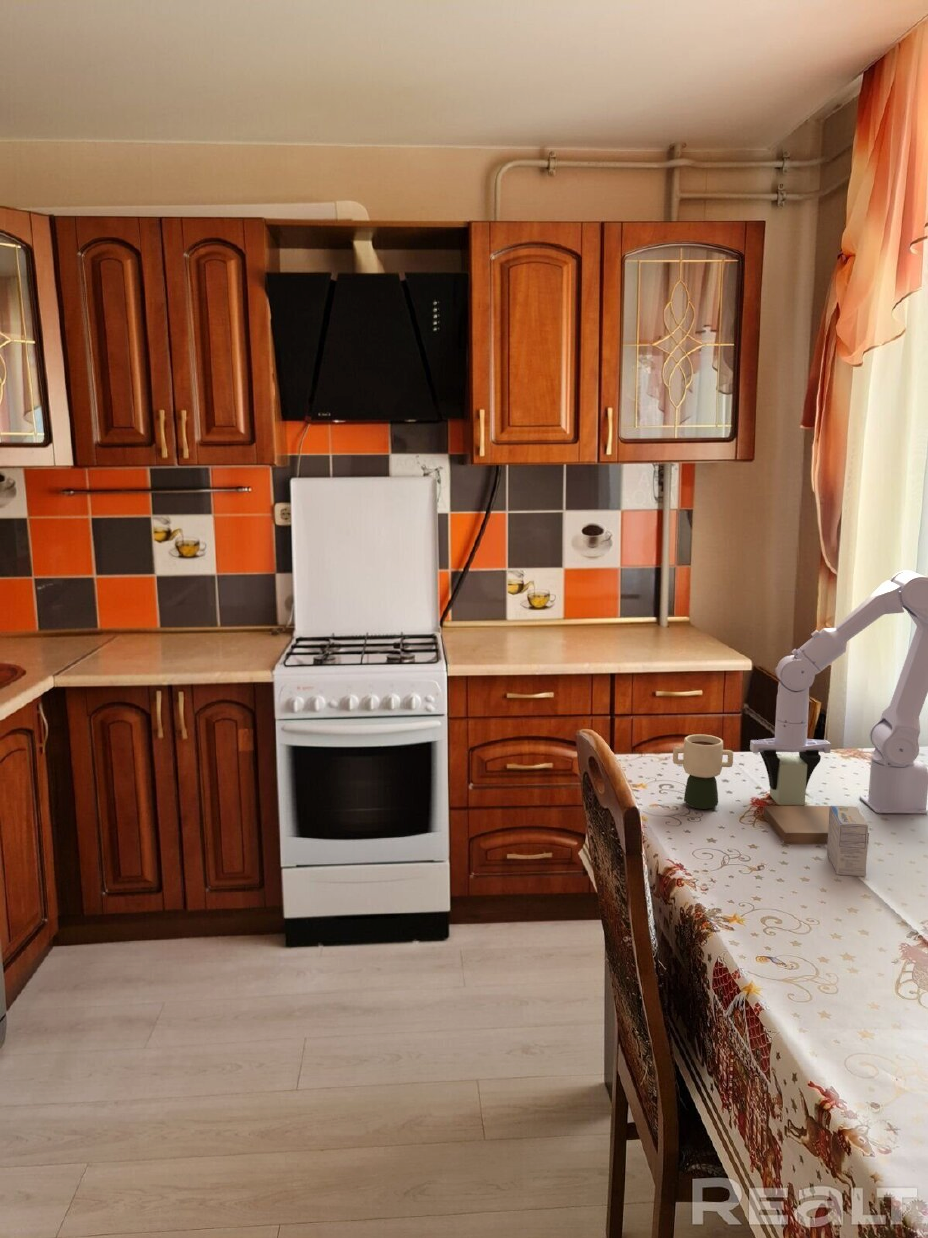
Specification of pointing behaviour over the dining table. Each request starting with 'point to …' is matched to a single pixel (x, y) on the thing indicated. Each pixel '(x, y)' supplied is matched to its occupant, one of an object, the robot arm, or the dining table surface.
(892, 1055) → the dining table surface
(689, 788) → the beige green trophy cup
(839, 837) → the medicine box
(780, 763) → the sage block
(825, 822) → the walnut base
